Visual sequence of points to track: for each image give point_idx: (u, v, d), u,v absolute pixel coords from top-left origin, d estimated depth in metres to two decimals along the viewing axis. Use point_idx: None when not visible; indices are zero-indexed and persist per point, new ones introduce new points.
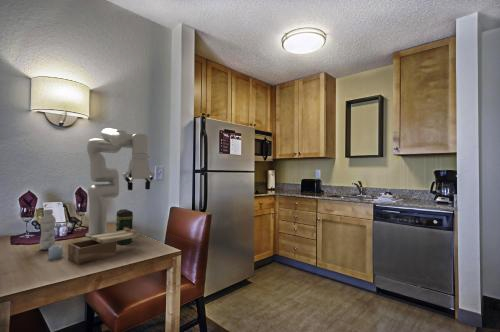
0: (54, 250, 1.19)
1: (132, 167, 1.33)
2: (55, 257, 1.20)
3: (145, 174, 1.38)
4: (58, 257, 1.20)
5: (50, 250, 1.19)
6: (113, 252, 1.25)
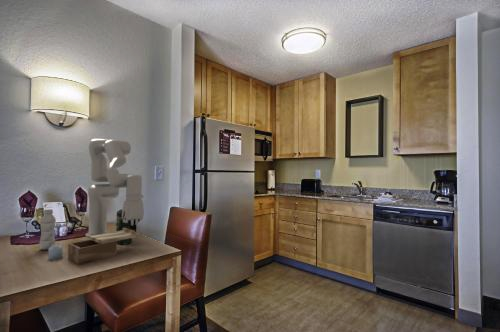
0: (54, 250, 1.19)
1: (126, 209, 1.35)
2: (55, 257, 1.20)
3: (139, 214, 1.40)
4: (58, 257, 1.20)
5: (50, 250, 1.19)
6: (113, 252, 1.25)
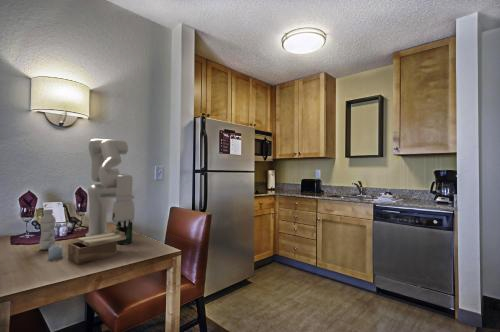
0: (54, 250, 1.19)
1: (116, 210, 1.31)
2: (55, 257, 1.20)
3: (129, 216, 1.36)
4: (58, 257, 1.20)
5: (50, 250, 1.19)
6: (113, 252, 1.25)
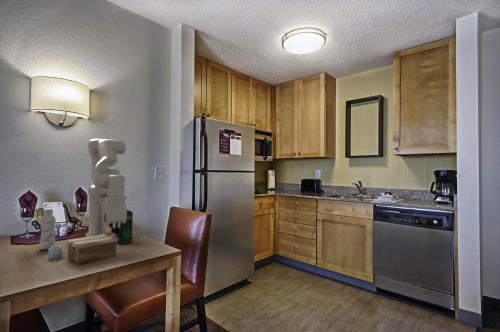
0: (54, 250, 1.19)
1: (107, 211, 1.27)
2: (55, 257, 1.20)
3: (121, 217, 1.32)
4: (58, 257, 1.20)
5: (50, 250, 1.19)
6: (113, 252, 1.25)
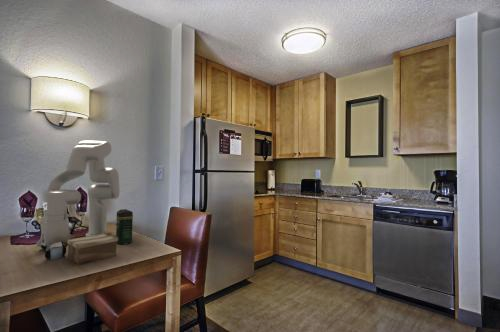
0: (54, 250, 1.19)
1: (45, 231, 1.17)
2: (55, 257, 1.20)
3: (63, 237, 1.22)
4: (58, 257, 1.20)
5: (50, 250, 1.19)
6: (113, 252, 1.25)
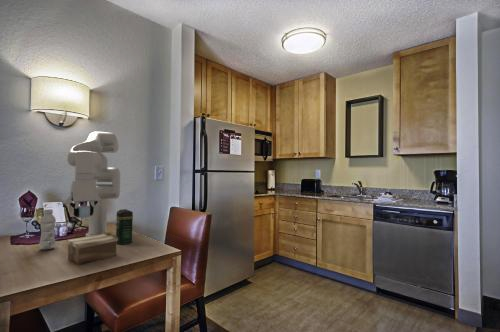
0: (82, 208, 1.21)
1: (74, 189, 1.19)
2: (83, 215, 1.21)
3: (91, 196, 1.24)
4: (86, 215, 1.22)
5: (79, 208, 1.21)
6: (113, 252, 1.25)
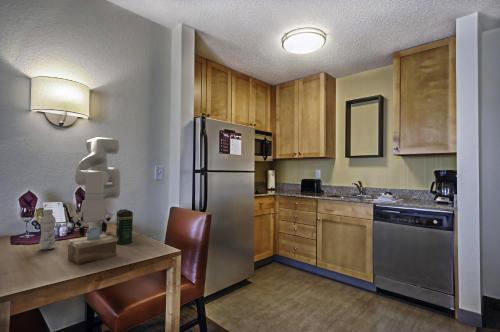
0: (93, 230, 1.21)
1: (84, 209, 1.19)
2: (93, 238, 1.22)
3: (100, 216, 1.24)
4: (96, 237, 1.22)
5: (89, 230, 1.21)
6: (113, 252, 1.25)
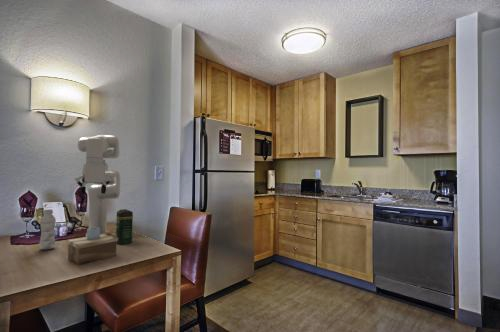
0: (93, 230, 1.21)
1: (85, 171, 1.33)
2: (93, 238, 1.22)
3: (100, 178, 1.38)
4: (96, 237, 1.22)
5: (89, 230, 1.21)
6: (113, 252, 1.25)
